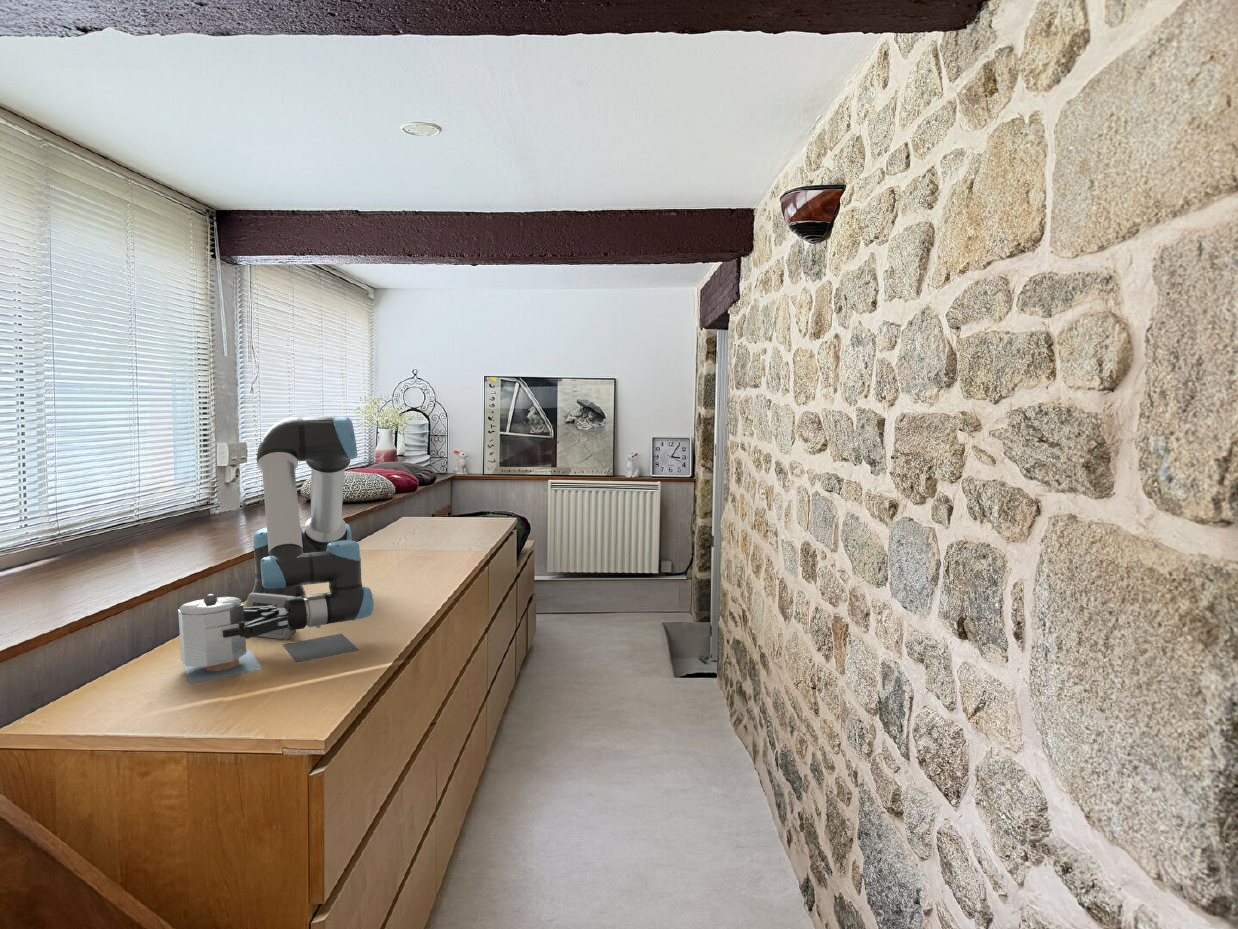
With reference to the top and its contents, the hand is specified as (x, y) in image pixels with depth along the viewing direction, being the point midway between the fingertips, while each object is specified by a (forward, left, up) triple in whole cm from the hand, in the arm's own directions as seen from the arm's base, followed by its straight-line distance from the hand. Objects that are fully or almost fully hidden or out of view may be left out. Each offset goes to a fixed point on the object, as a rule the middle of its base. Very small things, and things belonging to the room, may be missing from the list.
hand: (201, 628), depth 165 cm
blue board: (0, +3, -10) cm, 10 cm away
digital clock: (-19, +17, -10) cm, 27 cm away
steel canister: (0, +2, -7) cm, 7 cm away
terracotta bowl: (0, +3, -9) cm, 10 cm away
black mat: (0, +24, -10) cm, 26 cm away
